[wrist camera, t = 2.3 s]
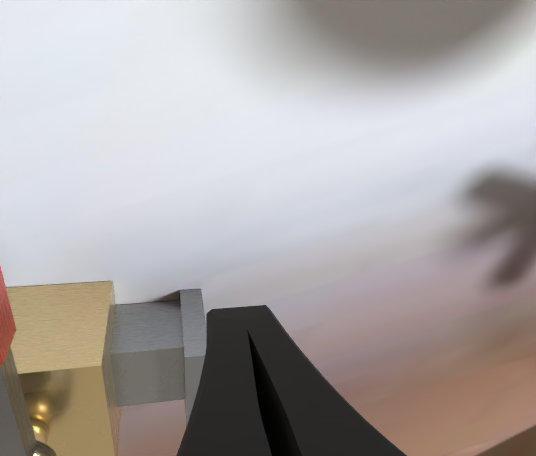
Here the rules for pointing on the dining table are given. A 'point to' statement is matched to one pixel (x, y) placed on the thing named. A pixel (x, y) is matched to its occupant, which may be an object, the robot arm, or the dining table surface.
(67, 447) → the valve body
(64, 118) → the dining table surface
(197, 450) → the robot arm
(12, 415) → the valve lever
